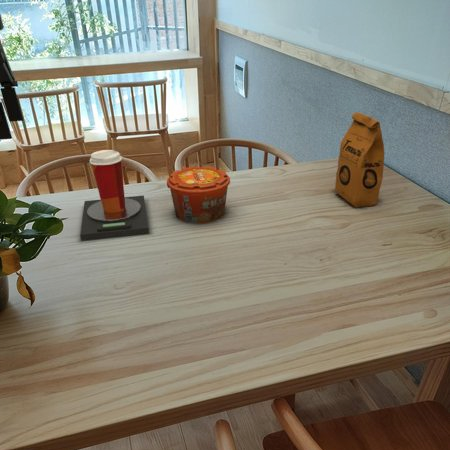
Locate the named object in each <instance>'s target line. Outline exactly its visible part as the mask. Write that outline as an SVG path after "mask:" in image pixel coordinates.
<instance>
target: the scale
mask: <svg viewBox="0 0 450 450" xmlns="http://www.w3.org/2000/svg"><path fill="white" fill-rule="evenodd" d="M79 233H80V234H79V235H80V240H81V242H85V241H95V240H105V239H114V238H123V237H134V236H142V235H149V234H150V230H149V224H148V215H147V208H146V202H145V195H134V196H133V195H132V196H125V209H124V210H123V211H120V212H117V213H108V212H105V211H104V209H103V206H102V202H101V199H92V200H91V199H90V200H84V203H83V209H82V218H81V227H80V232H79Z"/></svg>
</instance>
